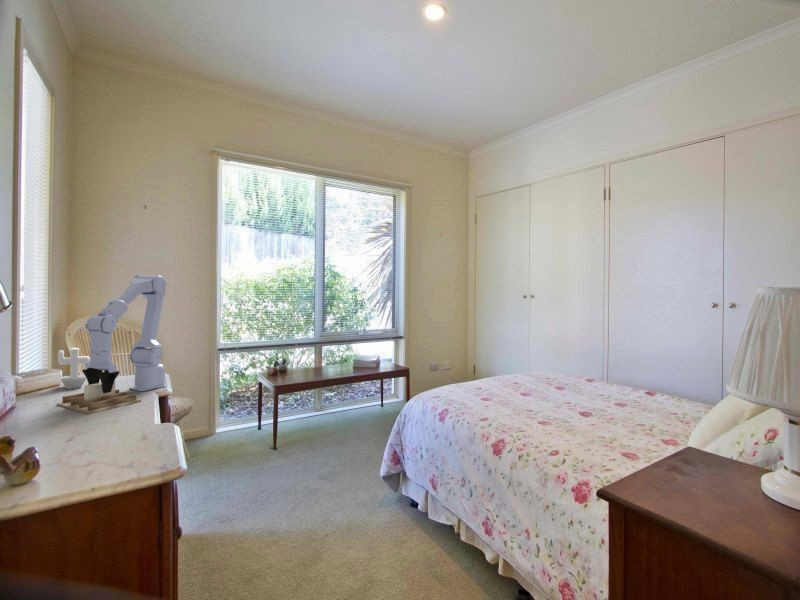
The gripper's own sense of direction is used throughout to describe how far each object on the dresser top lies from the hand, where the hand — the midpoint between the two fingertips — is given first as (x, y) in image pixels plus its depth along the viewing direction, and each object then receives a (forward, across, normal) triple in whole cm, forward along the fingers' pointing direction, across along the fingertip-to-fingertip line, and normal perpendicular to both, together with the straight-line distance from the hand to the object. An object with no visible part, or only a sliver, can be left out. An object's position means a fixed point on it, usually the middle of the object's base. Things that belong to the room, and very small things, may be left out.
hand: (100, 390), depth 130 cm
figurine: (+4, -30, +6) cm, 30 cm away
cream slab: (+3, 0, 0) cm, 4 cm away
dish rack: (+4, 0, 0) cm, 4 cm away
